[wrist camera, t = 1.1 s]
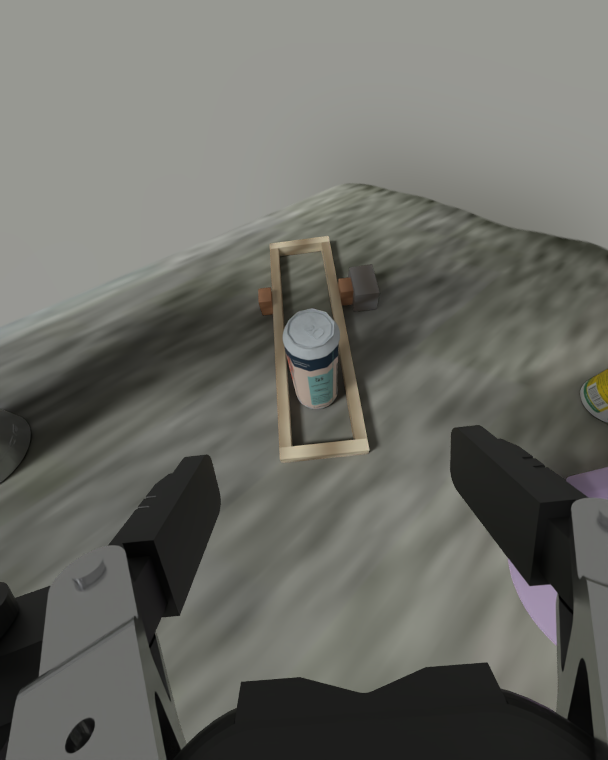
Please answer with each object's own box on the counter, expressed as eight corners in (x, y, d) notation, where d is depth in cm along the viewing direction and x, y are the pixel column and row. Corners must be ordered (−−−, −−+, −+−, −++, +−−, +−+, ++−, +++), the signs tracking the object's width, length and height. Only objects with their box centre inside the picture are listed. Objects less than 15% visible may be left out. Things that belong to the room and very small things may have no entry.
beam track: (266, 464, 31) (260, 457, 28) (261, 253, 46) (256, 236, 43) (413, 448, 30) (421, 440, 28) (358, 240, 45) (360, 222, 43)
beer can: (314, 366, 36) (307, 295, 25) (346, 388, 34) (352, 322, 23) (287, 394, 34) (268, 331, 24) (319, 419, 33) (313, 363, 22)
